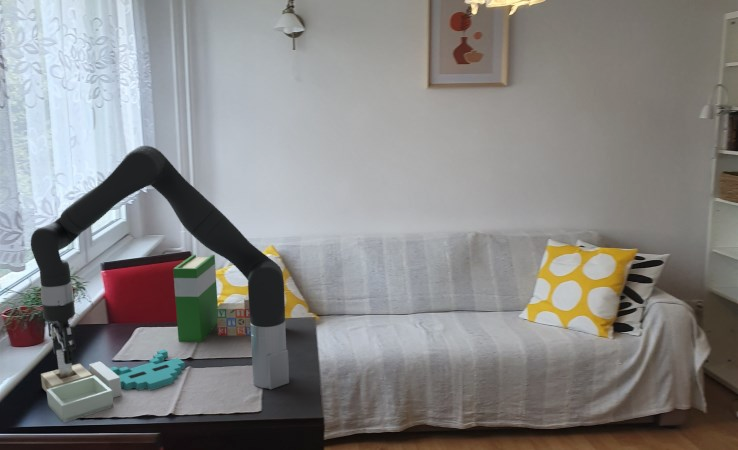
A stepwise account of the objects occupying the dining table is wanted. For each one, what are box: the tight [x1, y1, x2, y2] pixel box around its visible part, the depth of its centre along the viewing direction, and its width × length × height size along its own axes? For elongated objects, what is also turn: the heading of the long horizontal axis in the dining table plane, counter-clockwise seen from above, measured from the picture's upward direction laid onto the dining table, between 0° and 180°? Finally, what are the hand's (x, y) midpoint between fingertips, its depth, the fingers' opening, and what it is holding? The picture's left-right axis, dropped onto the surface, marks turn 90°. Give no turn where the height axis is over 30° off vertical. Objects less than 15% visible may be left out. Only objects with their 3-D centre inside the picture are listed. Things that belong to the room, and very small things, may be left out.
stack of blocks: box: [216, 293, 251, 337], centre depth 213 cm, size 21×6×12 cm, turn 91°
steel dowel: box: [56, 348, 73, 379], centre depth 173 cm, size 3×3×11 cm
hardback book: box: [172, 254, 219, 343], centre depth 212 cm, size 18×7×24 cm, turn 175°
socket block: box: [40, 363, 92, 393], centre depth 174 cm, size 10×10×4 cm
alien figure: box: [108, 349, 186, 391], centre depth 182 cm, size 20×2×20 cm
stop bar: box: [88, 361, 123, 399], centre depth 174 cm, size 14×3×5 cm, turn 42°
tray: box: [46, 376, 114, 424], centre depth 164 cm, size 12×12×4 cm
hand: (63, 358), depth 173 cm, fingers open, 8 cm apart
